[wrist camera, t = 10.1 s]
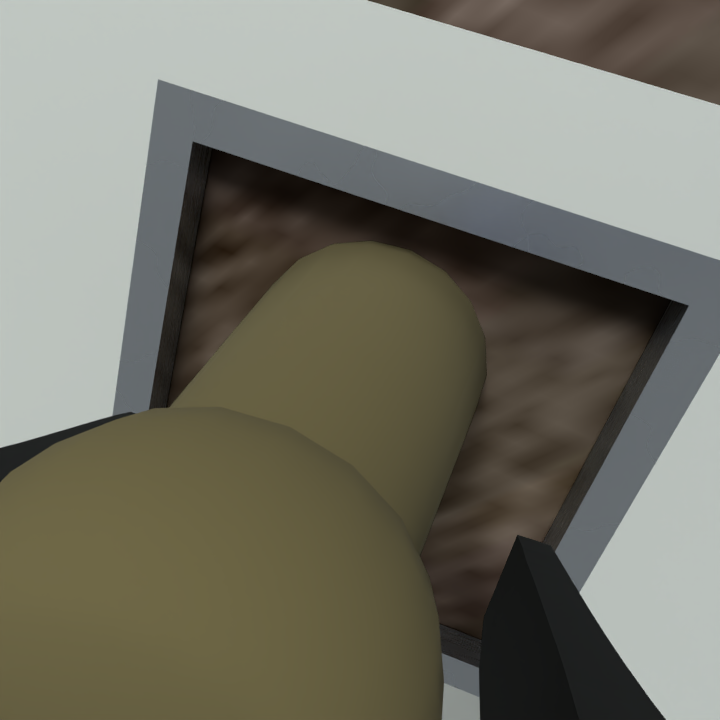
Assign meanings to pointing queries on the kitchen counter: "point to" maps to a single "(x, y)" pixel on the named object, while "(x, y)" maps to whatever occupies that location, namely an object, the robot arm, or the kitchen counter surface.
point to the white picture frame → (395, 189)
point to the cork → (254, 517)
